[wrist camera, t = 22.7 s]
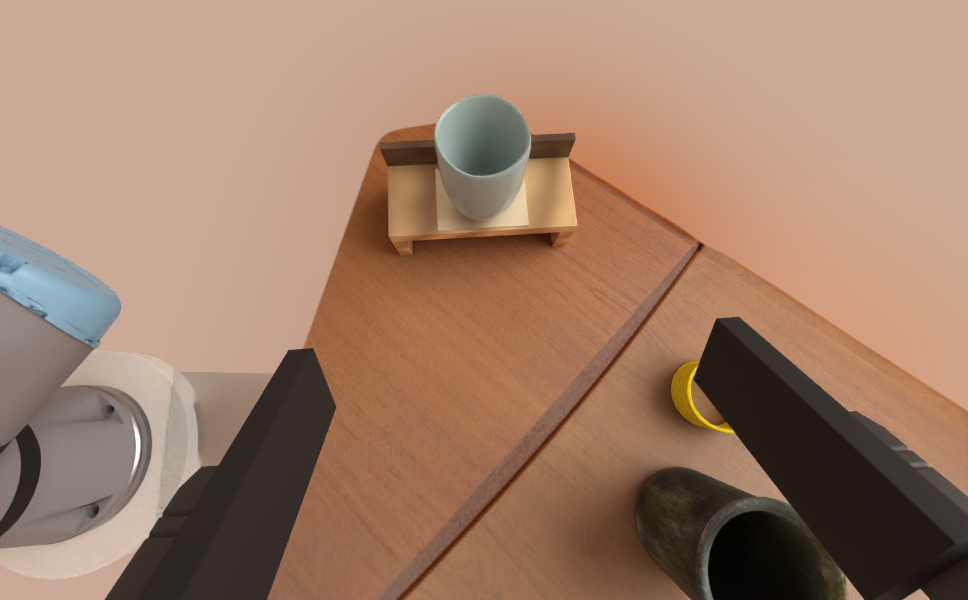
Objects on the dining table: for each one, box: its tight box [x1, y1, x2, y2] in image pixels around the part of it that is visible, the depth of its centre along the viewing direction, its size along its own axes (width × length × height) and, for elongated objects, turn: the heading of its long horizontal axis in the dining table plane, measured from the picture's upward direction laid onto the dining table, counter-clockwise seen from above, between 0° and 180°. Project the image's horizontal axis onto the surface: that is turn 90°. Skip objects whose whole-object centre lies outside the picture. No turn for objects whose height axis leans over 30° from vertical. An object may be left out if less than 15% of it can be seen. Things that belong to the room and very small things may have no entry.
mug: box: [636, 467, 848, 600], centre depth 31 cm, size 11×15×12 cm
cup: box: [434, 94, 531, 221], centre depth 33 cm, size 8×8×10 cm
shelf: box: [380, 133, 577, 256], centre depth 40 cm, size 20×9×9 cm, turn 94°
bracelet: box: [671, 361, 735, 434], centre depth 38 cm, size 7×8×3 cm
